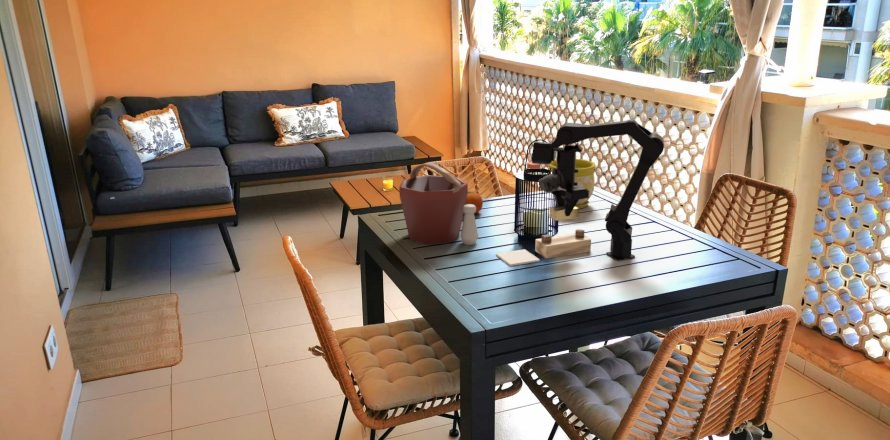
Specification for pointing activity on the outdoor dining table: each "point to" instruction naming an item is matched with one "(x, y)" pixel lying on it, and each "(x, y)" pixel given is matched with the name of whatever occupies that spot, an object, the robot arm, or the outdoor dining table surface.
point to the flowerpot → (582, 178)
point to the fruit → (474, 200)
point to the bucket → (433, 205)
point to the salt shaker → (469, 225)
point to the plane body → (563, 244)
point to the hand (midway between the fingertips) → (564, 214)
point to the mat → (517, 257)
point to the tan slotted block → (562, 213)
